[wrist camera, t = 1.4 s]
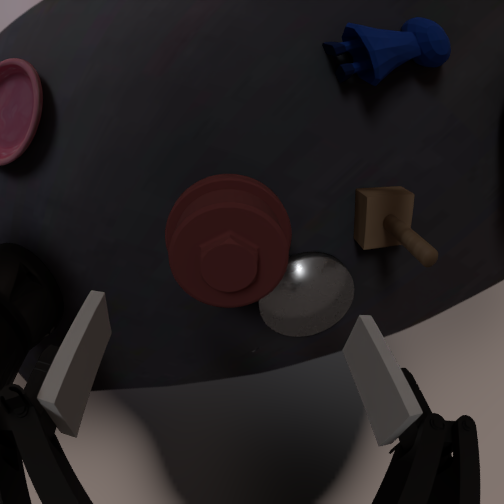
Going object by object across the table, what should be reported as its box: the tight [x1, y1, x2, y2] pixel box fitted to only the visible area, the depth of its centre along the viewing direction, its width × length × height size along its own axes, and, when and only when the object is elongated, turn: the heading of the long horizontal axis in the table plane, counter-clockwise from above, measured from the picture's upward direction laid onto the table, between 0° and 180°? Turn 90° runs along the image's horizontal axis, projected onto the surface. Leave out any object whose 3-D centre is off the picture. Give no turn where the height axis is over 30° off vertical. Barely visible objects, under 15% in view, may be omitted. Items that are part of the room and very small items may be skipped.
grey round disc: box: [258, 252, 354, 337], centre depth 35 cm, size 12×12×2 cm
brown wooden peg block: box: [354, 186, 438, 267], centre depth 27 cm, size 6×6×11 cm
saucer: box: [0, 58, 43, 166], centre depth 20 cm, size 12×12×3 cm
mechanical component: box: [165, 174, 292, 308], centre depth 25 cm, size 12×10×10 cm
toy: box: [323, 17, 451, 86], centre depth 20 cm, size 7×6×15 cm
